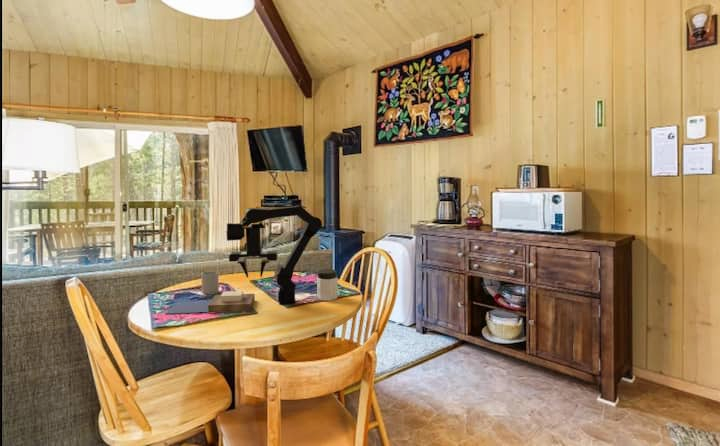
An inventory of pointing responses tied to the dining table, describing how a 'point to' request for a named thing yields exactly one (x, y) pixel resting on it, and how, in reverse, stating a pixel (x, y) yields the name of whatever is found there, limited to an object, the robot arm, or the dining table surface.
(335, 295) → the jar
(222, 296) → the beige flat block
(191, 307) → the felt mat
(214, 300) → the cutting board
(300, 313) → the dining table surface
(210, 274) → the cup
